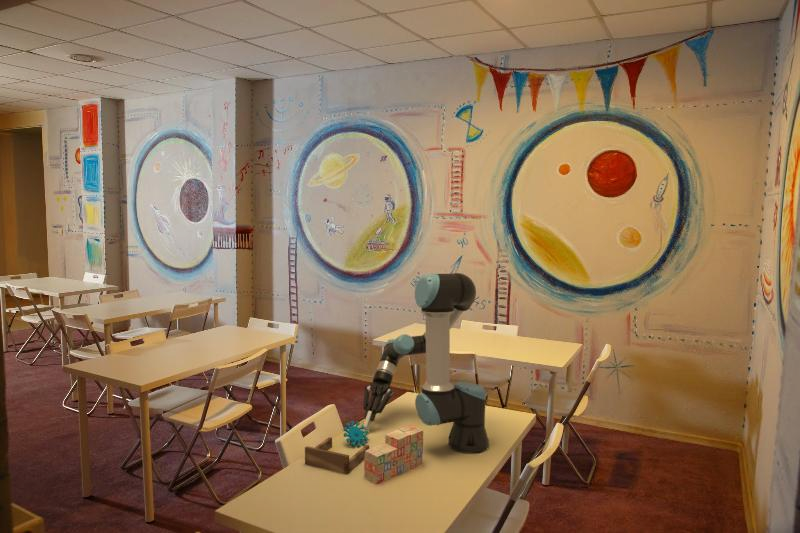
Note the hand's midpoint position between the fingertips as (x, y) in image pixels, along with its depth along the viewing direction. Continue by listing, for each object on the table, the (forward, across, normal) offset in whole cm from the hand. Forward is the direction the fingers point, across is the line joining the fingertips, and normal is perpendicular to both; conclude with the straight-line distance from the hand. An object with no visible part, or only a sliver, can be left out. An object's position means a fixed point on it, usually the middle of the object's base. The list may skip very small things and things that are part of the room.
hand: (365, 427), depth 208 cm
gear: (+8, -1, +4) cm, 9 cm away
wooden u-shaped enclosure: (+18, -1, +15) cm, 23 cm away
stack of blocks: (+18, -22, +14) cm, 32 cm away
